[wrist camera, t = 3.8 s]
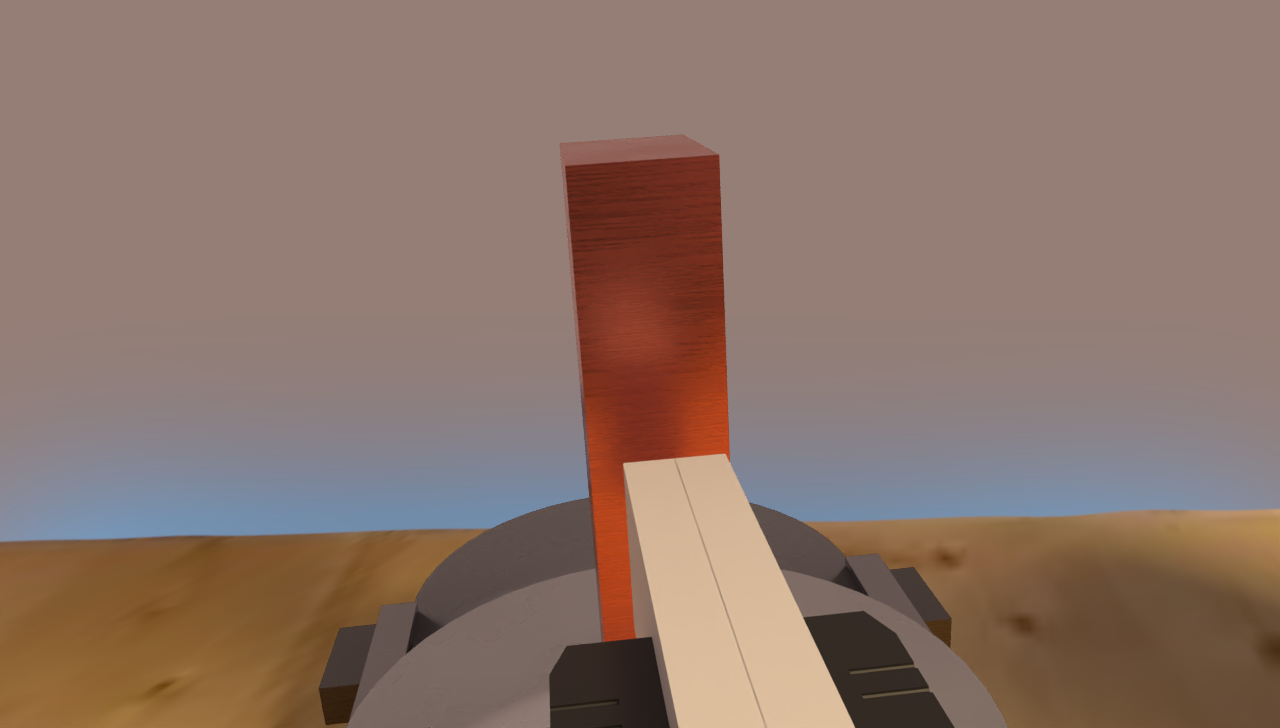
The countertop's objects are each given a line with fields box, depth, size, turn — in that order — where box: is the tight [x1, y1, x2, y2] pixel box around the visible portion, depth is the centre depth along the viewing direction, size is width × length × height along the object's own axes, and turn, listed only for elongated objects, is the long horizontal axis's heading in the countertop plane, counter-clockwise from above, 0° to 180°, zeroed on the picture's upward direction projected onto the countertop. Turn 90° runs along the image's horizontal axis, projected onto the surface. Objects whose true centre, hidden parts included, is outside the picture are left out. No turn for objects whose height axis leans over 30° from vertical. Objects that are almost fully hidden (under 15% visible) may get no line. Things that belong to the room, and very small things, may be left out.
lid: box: [346, 135, 1007, 728], centre depth 19 cm, size 14×14×13 cm
